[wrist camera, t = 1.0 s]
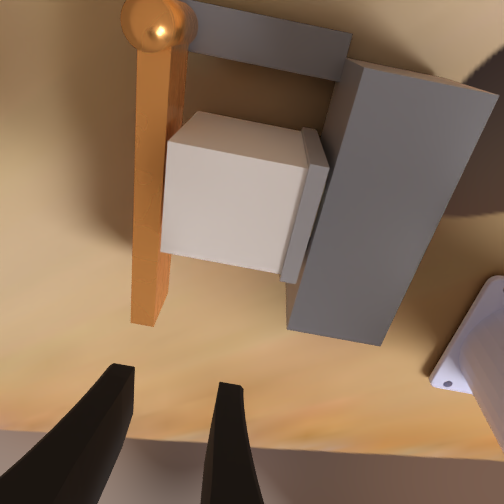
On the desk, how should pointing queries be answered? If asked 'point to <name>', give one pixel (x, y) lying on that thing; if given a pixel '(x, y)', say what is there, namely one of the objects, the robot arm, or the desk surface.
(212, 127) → the plug
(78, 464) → the robot arm
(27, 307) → the desk surface
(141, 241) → the orange long bar
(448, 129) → the socket block
